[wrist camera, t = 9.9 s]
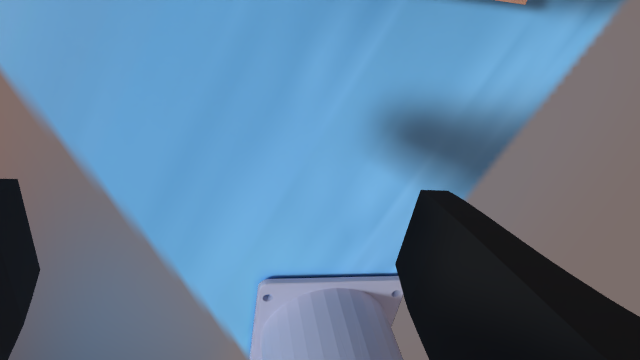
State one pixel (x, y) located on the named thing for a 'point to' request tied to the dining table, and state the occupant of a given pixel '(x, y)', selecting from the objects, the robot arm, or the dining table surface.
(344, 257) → the dining table surface
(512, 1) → the terracotta base
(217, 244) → the dining table surface
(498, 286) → the robot arm
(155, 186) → the dining table surface
